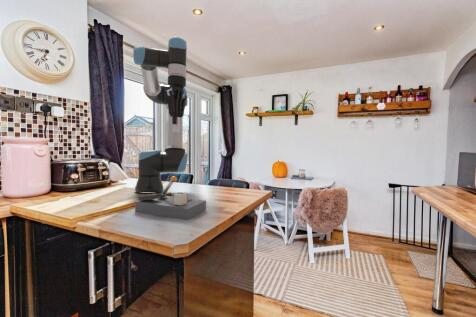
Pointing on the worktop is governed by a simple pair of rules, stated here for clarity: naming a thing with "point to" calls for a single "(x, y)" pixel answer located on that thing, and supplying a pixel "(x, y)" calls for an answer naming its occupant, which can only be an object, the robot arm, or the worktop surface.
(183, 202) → the slider
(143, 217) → the worktop surface
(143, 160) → the robot arm
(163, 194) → the lever
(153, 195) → the rocker
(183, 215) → the grey rectangular base
